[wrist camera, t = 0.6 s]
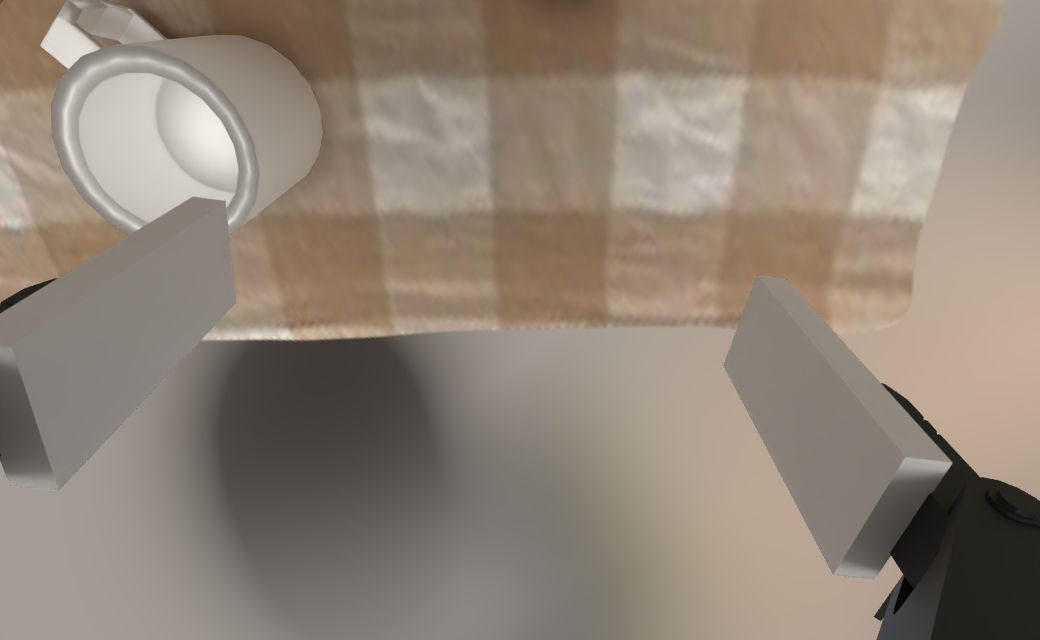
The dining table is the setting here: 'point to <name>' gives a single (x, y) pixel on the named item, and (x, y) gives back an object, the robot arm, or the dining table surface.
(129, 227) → the mug
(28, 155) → the dining table surface
